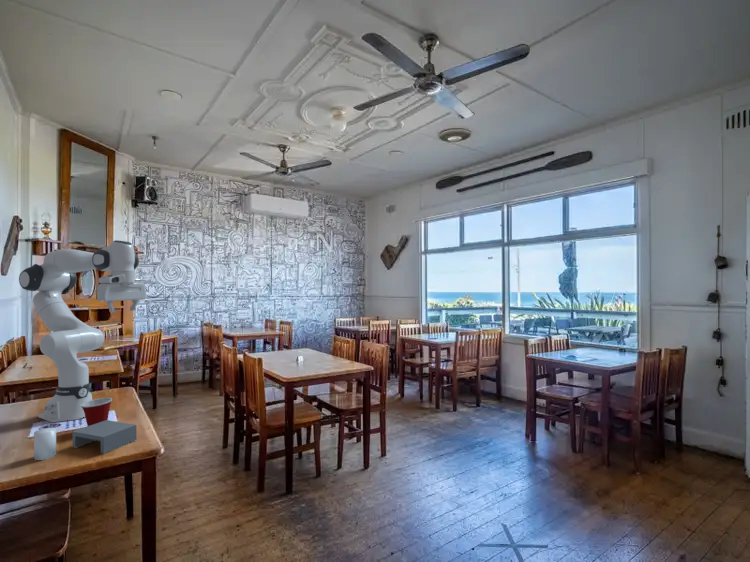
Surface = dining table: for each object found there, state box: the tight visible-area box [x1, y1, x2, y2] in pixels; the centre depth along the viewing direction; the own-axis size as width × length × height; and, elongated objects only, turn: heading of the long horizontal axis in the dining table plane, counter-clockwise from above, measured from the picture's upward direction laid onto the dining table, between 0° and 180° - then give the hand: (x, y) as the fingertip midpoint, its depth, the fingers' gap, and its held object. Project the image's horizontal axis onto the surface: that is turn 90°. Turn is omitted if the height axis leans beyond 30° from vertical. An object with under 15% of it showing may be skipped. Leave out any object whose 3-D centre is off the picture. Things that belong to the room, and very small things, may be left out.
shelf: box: [72, 420, 137, 455], centre depth 154 cm, size 16×13×6 cm
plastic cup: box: [81, 397, 113, 426], centre depth 169 cm, size 11×11×12 cm
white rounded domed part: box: [33, 427, 57, 461], centre depth 143 cm, size 6×6×9 cm
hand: (123, 311), depth 176 cm, fingers open, 8 cm apart
